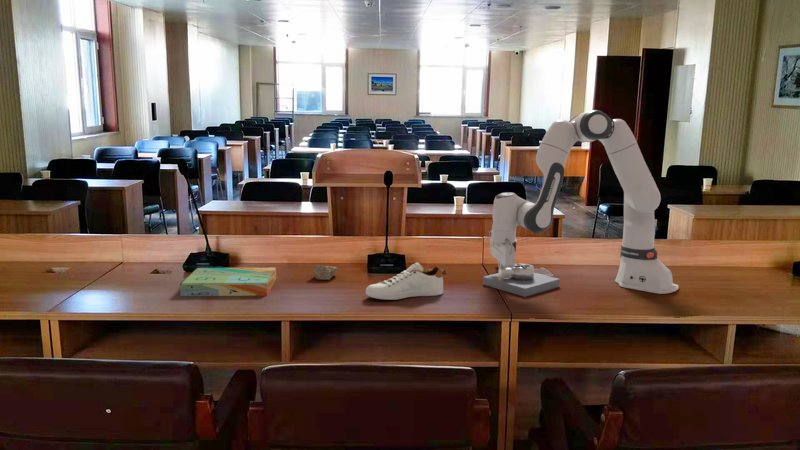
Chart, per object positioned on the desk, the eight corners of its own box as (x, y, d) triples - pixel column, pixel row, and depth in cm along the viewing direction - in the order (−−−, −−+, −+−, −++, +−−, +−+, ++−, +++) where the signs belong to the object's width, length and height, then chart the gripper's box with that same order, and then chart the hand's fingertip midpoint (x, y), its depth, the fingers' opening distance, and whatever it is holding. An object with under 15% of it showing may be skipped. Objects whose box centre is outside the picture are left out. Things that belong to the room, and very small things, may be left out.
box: (196, 267, 240) (275, 267, 241) (197, 280, 241) (276, 279, 242) (179, 283, 219) (266, 282, 220) (180, 297, 220) (267, 296, 221)
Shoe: (360, 296, 222) (360, 262, 219) (434, 287, 232) (435, 256, 230) (370, 304, 212) (370, 269, 210) (447, 295, 223) (447, 262, 220)
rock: (337, 274, 239) (324, 258, 238) (320, 287, 240) (307, 271, 239) (341, 268, 249) (328, 252, 248) (325, 280, 250) (312, 265, 249)
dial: (525, 272, 240) (526, 261, 239) (538, 278, 232) (538, 267, 231) (494, 275, 236) (494, 264, 235) (505, 282, 227) (506, 270, 227)
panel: (559, 286, 234) (559, 277, 233) (525, 296, 221) (525, 287, 221) (517, 275, 249) (517, 266, 248) (482, 284, 236) (483, 275, 236)
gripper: (520, 242, 222) (518, 280, 224) (504, 230, 242) (502, 265, 244) (503, 242, 221) (501, 280, 224) (488, 231, 241) (486, 265, 244)
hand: (501, 272), depth 234 cm, fingers closed
